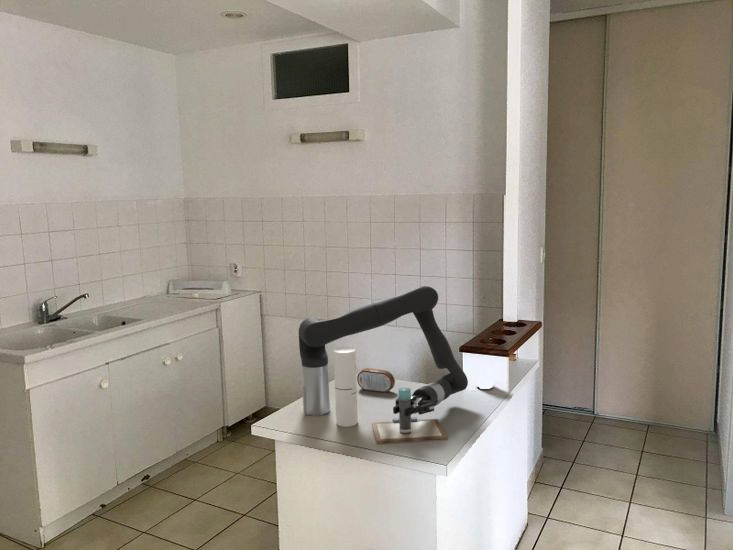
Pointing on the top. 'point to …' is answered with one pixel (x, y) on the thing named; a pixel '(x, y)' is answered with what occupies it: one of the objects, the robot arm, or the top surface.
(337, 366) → the cylindrical container
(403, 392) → the marker
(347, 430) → the top surface
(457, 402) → the top surface
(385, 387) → the tin
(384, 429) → the clipboard
